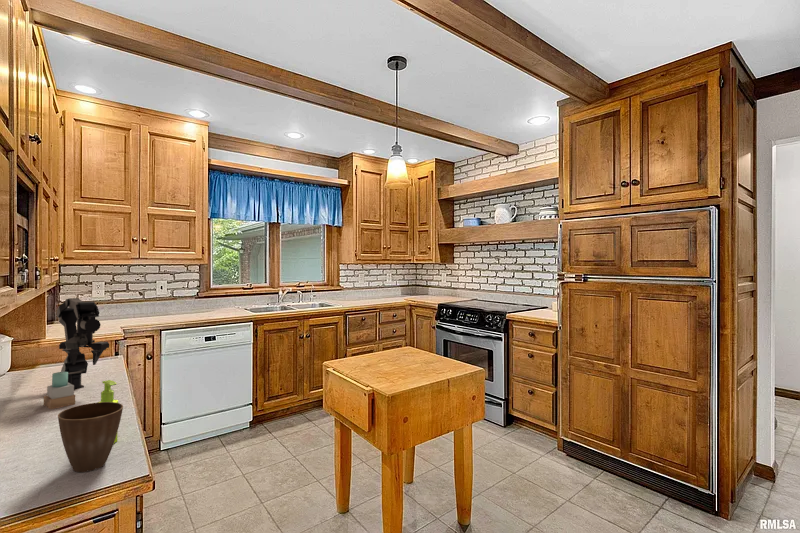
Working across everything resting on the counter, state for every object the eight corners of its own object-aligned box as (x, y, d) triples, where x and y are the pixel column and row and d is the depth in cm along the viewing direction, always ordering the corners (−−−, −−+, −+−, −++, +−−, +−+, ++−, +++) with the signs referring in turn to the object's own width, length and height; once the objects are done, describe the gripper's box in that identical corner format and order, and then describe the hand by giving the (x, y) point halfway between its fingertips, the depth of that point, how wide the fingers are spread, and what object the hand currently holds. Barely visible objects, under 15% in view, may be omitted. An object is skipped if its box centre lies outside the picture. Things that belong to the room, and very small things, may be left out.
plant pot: (124, 450, 129) (125, 399, 129) (118, 471, 115) (119, 414, 116) (63, 460, 121) (64, 406, 122) (49, 484, 108) (51, 422, 108)
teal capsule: (49, 385, 169) (50, 373, 169) (64, 382, 174) (65, 371, 174) (54, 388, 167) (55, 375, 167) (69, 385, 171) (70, 373, 171)
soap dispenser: (101, 449, 130) (103, 384, 130) (91, 443, 133) (93, 381, 133) (122, 442, 135) (123, 380, 135) (112, 437, 138) (113, 377, 138)
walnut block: (43, 406, 169) (43, 396, 169) (67, 401, 175) (67, 391, 175) (50, 410, 164) (50, 399, 164) (75, 404, 171) (75, 395, 171)
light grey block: (47, 395, 169) (47, 386, 169) (68, 391, 175) (68, 382, 175) (52, 399, 165) (52, 389, 165) (73, 395, 171) (74, 385, 171)
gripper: (48, 331, 177) (47, 368, 177) (92, 333, 177) (91, 369, 177) (69, 328, 188) (68, 362, 188) (110, 329, 188) (109, 363, 188)
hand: (84, 364), depth 185 cm, fingers open, 9 cm apart
